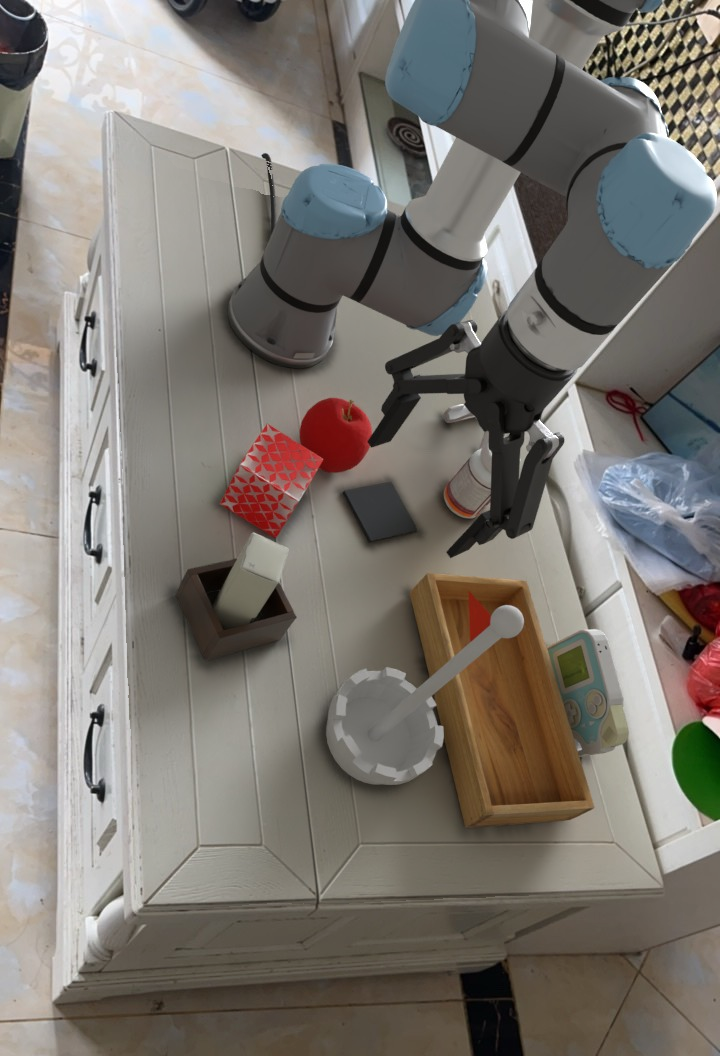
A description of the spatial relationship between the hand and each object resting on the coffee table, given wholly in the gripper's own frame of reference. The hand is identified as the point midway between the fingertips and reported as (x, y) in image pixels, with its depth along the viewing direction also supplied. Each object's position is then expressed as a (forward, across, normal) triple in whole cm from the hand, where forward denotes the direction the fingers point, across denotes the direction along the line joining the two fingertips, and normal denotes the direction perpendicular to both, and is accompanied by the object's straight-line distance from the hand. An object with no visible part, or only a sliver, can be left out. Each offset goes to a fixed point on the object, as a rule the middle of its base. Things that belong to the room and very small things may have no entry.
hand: (417, 495), depth 86 cm
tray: (+24, +19, +13) cm, 34 cm away
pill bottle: (+24, -6, +30) cm, 40 cm away
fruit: (+24, -20, +14) cm, 35 cm away
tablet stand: (+24, -16, +42) cm, 51 cm away
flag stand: (+24, +16, -4) cm, 29 cm away
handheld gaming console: (+24, +25, +23) cm, 42 cm away
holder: (+24, -4, -11) cm, 27 cm away
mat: (+24, -9, +17) cm, 31 cm away
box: (+24, -4, -11) cm, 27 cm away
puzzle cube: (+24, -17, +2) cm, 30 cm away
